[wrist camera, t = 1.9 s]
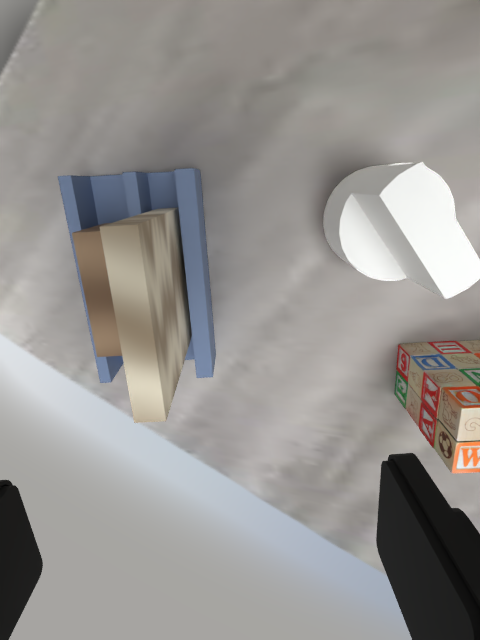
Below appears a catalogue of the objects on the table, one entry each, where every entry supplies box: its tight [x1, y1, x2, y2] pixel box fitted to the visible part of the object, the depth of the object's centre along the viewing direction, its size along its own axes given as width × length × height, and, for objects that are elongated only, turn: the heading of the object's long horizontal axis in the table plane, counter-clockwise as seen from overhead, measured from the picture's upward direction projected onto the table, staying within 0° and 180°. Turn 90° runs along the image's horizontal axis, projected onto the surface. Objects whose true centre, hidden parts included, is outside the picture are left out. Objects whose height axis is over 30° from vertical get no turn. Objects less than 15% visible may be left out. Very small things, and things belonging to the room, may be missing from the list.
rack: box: [58, 168, 216, 383], centre depth 34 cm, size 18×10×5 cm, turn 3°
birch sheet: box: [99, 207, 192, 423], centre depth 29 cm, size 12×2×15 cm, turn 3°
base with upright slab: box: [323, 162, 480, 299], centre depth 29 cm, size 9×9×12 cm
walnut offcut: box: [72, 223, 122, 357], centre depth 32 cm, size 10×3×7 cm, turn 3°
